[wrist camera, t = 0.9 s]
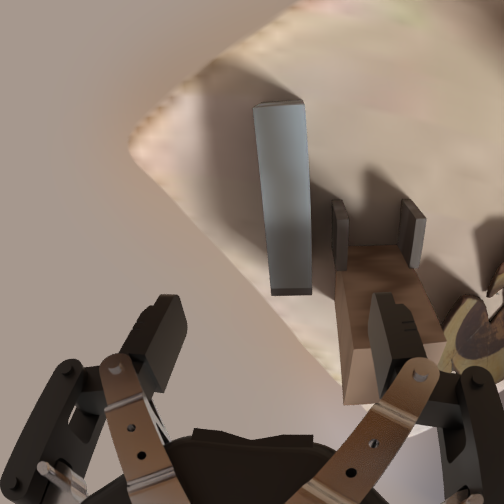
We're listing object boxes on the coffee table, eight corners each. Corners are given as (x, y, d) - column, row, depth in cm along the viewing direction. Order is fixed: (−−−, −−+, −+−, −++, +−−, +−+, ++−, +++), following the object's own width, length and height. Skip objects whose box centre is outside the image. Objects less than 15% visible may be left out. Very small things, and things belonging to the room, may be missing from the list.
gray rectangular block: (302, 100, 25) (304, 104, 20) (310, 259, 33) (311, 295, 28) (261, 102, 26) (252, 107, 21) (276, 260, 34) (271, 295, 29)
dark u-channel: (411, 199, 28) (472, 283, 16) (397, 298, 34) (427, 397, 22) (332, 200, 30) (352, 289, 18) (330, 300, 35) (337, 405, 23)
